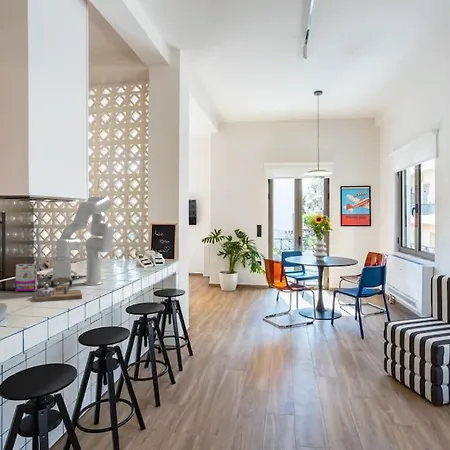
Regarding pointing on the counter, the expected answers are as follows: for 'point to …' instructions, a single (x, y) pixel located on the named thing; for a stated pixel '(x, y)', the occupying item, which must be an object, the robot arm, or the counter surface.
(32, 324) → the counter surface
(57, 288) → the wooden gear
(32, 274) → the candy bar box
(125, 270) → the counter surface
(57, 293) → the gear board
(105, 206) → the robot arm
